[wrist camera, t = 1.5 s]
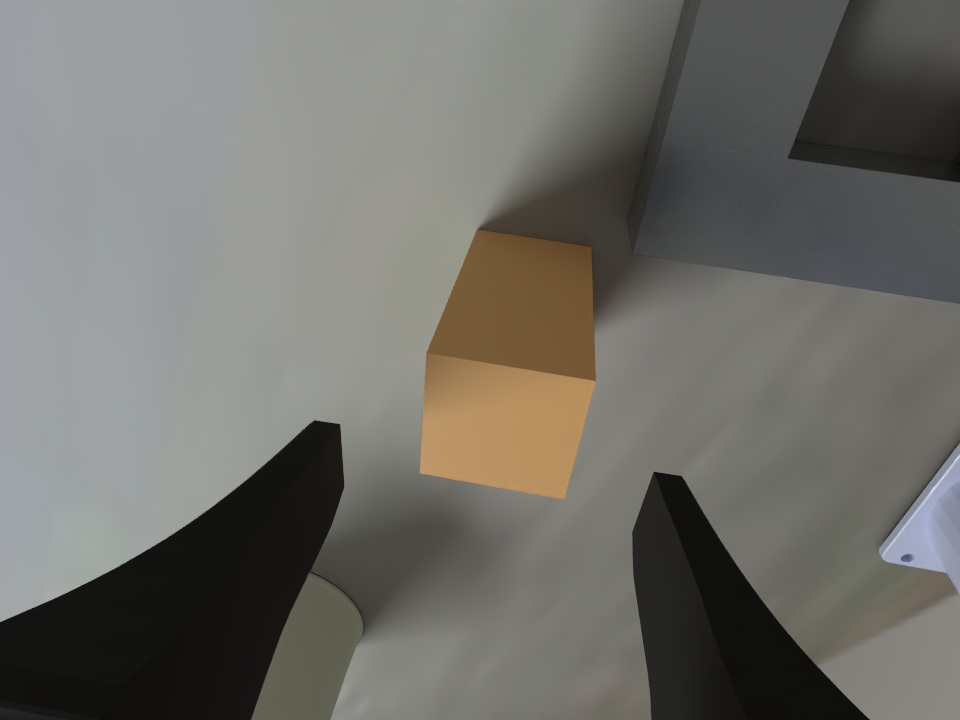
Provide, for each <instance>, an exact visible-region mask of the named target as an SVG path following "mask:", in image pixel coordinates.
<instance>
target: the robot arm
mask: <svg viewBox="0 0 960 720" xmlns="http://www.w3.org/2000/svg"><path fill="white" fill-rule="evenodd" d="M343 489H344V474H343V460H342V445H341V430H340V424H335V423H328V422H322V421H315V420H314V421H313V422H312V423H310V424H309V425H308V426H307V427H306V428H305V429H304V430H303V431H301V432H300V433H299V434H298V435H297V436H296V437H295V438H294V439H293V440H292V441H291V442H290V443H288V444H287V445H286V446H285V447H284V448H283V449H282V450H281V451H280V452H278V453H277V454H276V455H275V456H274V457H273V458H272V459H271V460H269V461H268V462H267V463H266V464H265V465H264V466H262V467H261V468H260V469H259V470H258V471H257V472H255V473H254V474H253V475H252V476H251V477H250V478H248V479H247V480H246V481H245V482H244V483H242V484H241V485H240V486H239V487H237V488H236V489H235V490H233V491H232V492H231V493H230V494H228V495H227V496H226V497H224V498H223V499H222V500H221V501H219V502H218V503H217V504H215V505H214V506H213V507H211V508H210V509H209V510H207V511H206V512H205V513H203V514H202V515H200V516H199V517H198V518H196V519H195V520H193V521H192V522H190V523H189V524H188V525H186V526H185V527H183V528H182V529H180V530H179V531H177V532H176V533H174V534H173V535H171V536H169V537H168V538H166V539H165V540H163V541H161V542H160V543H158V544H156V545H155V546H153V547H152V548H150V549H148V550H147V551H145V552H143V553H141V554H140V555H138V556H136V557H134V558H133V559H131V560H129V561H128V562H126V563H124V564H122V565H121V566H119V567H117V568H115V569H113V570H111V571H109V572H108V573H106V574H104V575H102V576H100V577H98V578H96V579H94V580H92V581H90V582H88V583H86V584H84V585H82V586H80V587H78V588H76V589H74V590H72V591H70V592H68V593H66V594H63V595H61V596H59V597H57V598H55V599H53V600H50V601H48V602H46V603H44V604H41V605H39V606H37V607H34V608H32V609H30V610H27V611H25V612H23V613H20V614H18V615H16V616H13V617H11V618H9V619H7V620H4V621H2V622H0V720H251V719H252V716H253V713H254V710H255V707H256V704H257V701H258V698H259V695H260V692H261V690H262V687H263V684H264V681H265V678H266V675H267V672H268V669H269V667H270V664H271V661H272V658H273V656H274V653H275V650H276V647H277V645H278V642H279V639H280V636H281V634H282V631H283V629H284V626H285V624H286V622H287V619H288V617H289V615H290V612H291V610H292V608H293V606H294V604H295V602H296V600H297V598H298V595H299V593H300V591H301V589H302V587H303V585H304V583H305V581H306V579H307V577H308V574H309V572H310V570H311V568H312V566H313V564H314V562H315V560H316V558H317V556H318V553H319V551H320V549H321V547H322V545H323V543H324V541H325V538H326V536H327V534H328V532H329V530H330V528H331V525H332V522H333V519H334V516H335V514H336V511H337V508H338V505H339V501H340V498H341V495H342V492H343ZM632 536H633V575H634V582H635V590H636V597H637V603H638V610H639V617H640V624H641V630H642V637H643V644H644V650H645V657H646V664H647V670H648V678H649V688H650V698H651V717H652V720H869V719H868V718H867V717H866V716H865V715H864V714H863V713H862V712H861V711H860V710H859V709H858V708H857V707H856V706H855V705H854V704H853V703H852V702H851V701H850V700H849V699H848V698H847V697H846V696H845V695H844V694H843V693H842V692H841V691H840V690H839V689H838V688H837V687H836V686H835V685H834V684H833V682H832V681H831V680H830V679H829V678H828V677H827V676H826V675H825V674H824V673H823V672H822V671H821V670H820V669H819V668H818V667H817V666H816V665H815V664H814V663H813V661H812V660H811V659H810V658H809V657H808V656H807V655H806V654H805V653H804V651H803V650H802V649H801V648H800V647H799V646H798V645H797V643H796V642H795V641H794V640H793V639H792V637H791V636H790V635H789V634H788V633H787V632H786V630H785V629H784V628H783V627H782V626H781V624H780V623H779V622H778V621H777V619H776V618H775V617H774V616H773V614H772V613H771V612H770V610H769V609H768V608H767V607H766V605H765V604H764V603H763V601H762V600H761V599H760V597H759V596H758V594H757V593H756V592H755V590H754V589H753V588H752V586H751V585H750V584H749V582H748V581H747V579H746V578H745V576H744V575H743V574H742V572H741V571H740V569H739V568H738V566H737V565H736V563H735V562H734V560H733V559H732V557H731V556H730V554H729V553H728V551H727V550H726V548H725V547H724V545H723V544H722V542H721V541H720V539H719V537H718V536H717V534H716V533H715V531H714V529H713V528H712V526H711V524H710V523H709V521H708V519H707V518H706V516H705V515H704V513H703V511H702V509H701V508H700V506H699V504H698V503H697V501H696V499H695V498H694V496H693V494H692V492H691V491H690V489H689V487H688V485H687V484H686V482H685V480H684V479H683V478H682V476H678V475H671V474H664V473H658V472H654V473H653V476H652V478H651V481H650V484H649V487H648V490H647V492H646V495H645V498H644V501H643V504H642V506H641V509H640V512H639V515H638V518H637V520H636V523H635V526H634V529H633V532H632ZM879 552H880V555H881V556H882V558H883V559H884V560H885V561H887V562H890V563H895V564H901V565H907V566H912V567H918V568H923V569H929V570H934V571H940V572H945V573H947V574H948V576H949V577H950V579H951V581H952V582H953V584H954V586H955V587H956V589H957V591H958V592H959V594H960V443H959V445H958V446H957V447H956V449H955V450H954V451H953V453H952V454H951V455H950V456H949V458H948V459H947V460H946V462H945V463H944V464H943V466H942V467H941V468H940V470H939V471H938V472H937V474H936V475H935V476H934V477H933V479H932V480H931V481H930V483H929V484H928V485H927V487H926V488H925V489H924V491H923V492H922V493H921V494H920V496H919V497H918V498H917V500H916V501H915V502H914V504H913V505H912V506H911V508H910V509H909V510H908V512H907V513H906V514H905V515H904V517H903V518H902V519H901V521H900V522H899V523H898V525H897V526H896V527H895V529H894V530H893V531H892V533H891V534H890V535H889V536H888V538H887V539H886V540H885V542H884V543H883V544H882V546H881V547H880V549H879Z"/></svg>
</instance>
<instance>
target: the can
mask: <svg viewBox="0 0 960 720" xmlns="http://www.w3.org/2000/svg"><path fill="white" fill-rule="evenodd" d="M362 633H363V621H362V617H361V615H360V613H359V611H358V609H357V607H356V606H355V604H354V603H353V602H352V601H351V600H350V598H349V597H348V596H346V595H345V594H344V593H343V592H342V591H341V590H340V589H338V588H337V587H336V586H334V585H333V584H331V583H330V582H328V581H326V580H325V579H323V578H321V577H319V576H317V575H315V574H312V573H310V572H309V574H308V577H307V579H306V581H305V583H304V585H303V587H302V589H301V591H300V593H299V595H298V598H297V600H296V602H295V604H294V606H293V608H292V610H291V612H290V615H289V617H288V619H287V622H286V624H285V626H284V629H283V631H282V634H281V636H280V639H279V642H278V645H277V647H276V650H275V653H274V656H273V658H272V661H271V664H270V667H269V669H268V672H267V675H266V678H265V681H264V684H263V687H262V690H261V692H260V695H259V698H258V701H257V704H256V707H255V710H254V713H253V716H252V719H251V720H330V719H331V716H332V713H333V710H334V707H335V704H336V701H337V698H338V695H339V692H340V689H341V687H342V684H343V681H344V678H345V675H346V672H347V669H348V667H349V664H350V661H351V658H352V656H353V653H354V651H355V648H356V646H357V644H358V643H359V641H360V639H361V637H362Z"/></svg>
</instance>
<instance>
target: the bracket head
mask: <svg viewBox="0 0 960 720" xmlns="http://www.w3.org/2000/svg"><path fill="white" fill-rule="evenodd" d="M848 3H849V0H685V1H684V5H683V9H682V13H681V17H680V21H679V24H678V28H677V32H676V36H675V40H674V44H673V48H672V52H671V56H670V60H669V64H668V68H667V72H666V75H665V79H664V83H663V87H662V91H661V95H660V99H659V103H658V107H657V111H656V115H655V119H654V122H653V126H652V130H651V134H650V138H649V142H648V146H647V150H646V154H645V158H644V162H643V166H642V170H641V173H640V177H639V181H638V185H637V189H636V193H635V197H634V201H633V205H632V209H631V213H630V217H629V220H628V229H629V235H630V240H631V246H632V252H633V254H637V255H643V256H650V257H656V258H663V259H670V260H676V261H683V262H689V263H696V264H702V265H709V266H716V267H722V268H729V269H735V270H742V271H748V272H755V273H762V274H768V275H775V276H781V277H788V278H794V279H801V280H808V281H814V282H821V283H827V284H834V285H840V286H847V287H854V288H860V289H867V290H873V291H880V292H886V293H893V294H900V295H906V296H913V297H919V298H926V299H932V300H939V301H945V302H952V303H959V304H960V154H959V155H958V157H957V159H956V161H955V163H952V162H945V161H938V160H931V159H923V158H916V157H909V156H901V155H894V154H887V153H880V152H872V151H865V150H858V149H851V148H843V147H836V146H829V145H821V144H814V143H807V142H800V141H795V138H796V135H797V133H798V130H799V128H800V125H801V123H802V120H803V118H804V115H805V112H806V110H807V107H808V105H809V102H810V100H811V97H812V95H813V92H814V89H815V87H816V84H817V82H818V79H819V77H820V74H821V72H822V69H823V66H824V64H825V61H826V59H827V56H828V54H829V51H830V49H831V46H832V44H833V41H834V38H835V36H836V33H837V31H838V28H839V26H840V23H841V21H842V18H843V15H844V13H845V10H846V8H847V5H848Z"/></svg>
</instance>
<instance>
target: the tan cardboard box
mask: <svg viewBox="0 0 960 720" xmlns="http://www.w3.org/2000/svg"><path fill="white" fill-rule="evenodd" d="M595 382H596V374H595V343H594V311H593V280H592V249H591V247H590V246H583V245H577V244H570V243H563V242H557V241H550V240H544V239H537V238H531V237H524V236H517V235H511V234H504V233H498V232H491V231H484V230H478V229H477V231H476V234H475V236H474V238H473V241H472V243H471V246H470V248H469V251H468V253H467V256H466V258H465V260H464V263H463V265H462V268H461V270H460V273H459V275H458V278H457V280H456V282H455V285H454V287H453V290H452V292H451V295H450V297H449V300H448V302H447V304H446V307H445V309H444V312H443V314H442V317H441V319H440V322H439V324H438V326H437V329H436V331H435V334H434V336H433V339H432V341H431V344H430V346H429V348H428V351H427V356H426V373H425V390H424V407H423V425H422V442H421V459H420V473H421V474H426V475H432V476H437V477H443V478H448V479H454V480H460V481H465V482H471V483H476V484H482V485H487V486H493V487H498V488H504V489H509V490H515V491H520V492H526V493H532V494H537V495H543V496H548V497H554V498H559V499H565V495H566V491H567V488H568V484H569V480H570V476H571V472H572V469H573V465H574V461H575V457H576V454H577V450H578V446H579V442H580V439H581V435H582V431H583V427H584V423H585V420H586V416H587V412H588V408H589V405H590V401H591V397H592V393H593V389H594V386H595Z"/></svg>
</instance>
